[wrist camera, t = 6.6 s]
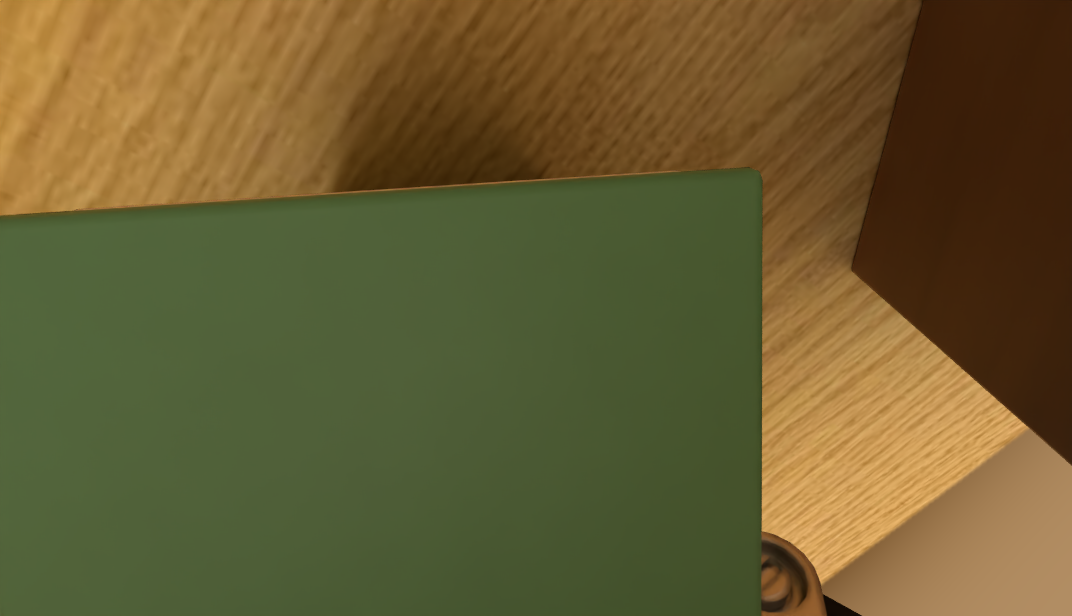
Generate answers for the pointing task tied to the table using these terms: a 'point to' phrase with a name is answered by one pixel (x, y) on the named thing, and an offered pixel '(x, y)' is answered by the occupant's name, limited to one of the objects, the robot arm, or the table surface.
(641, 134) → the table surface
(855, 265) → the pedestal
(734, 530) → the block
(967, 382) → the table surface
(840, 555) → the table surface
